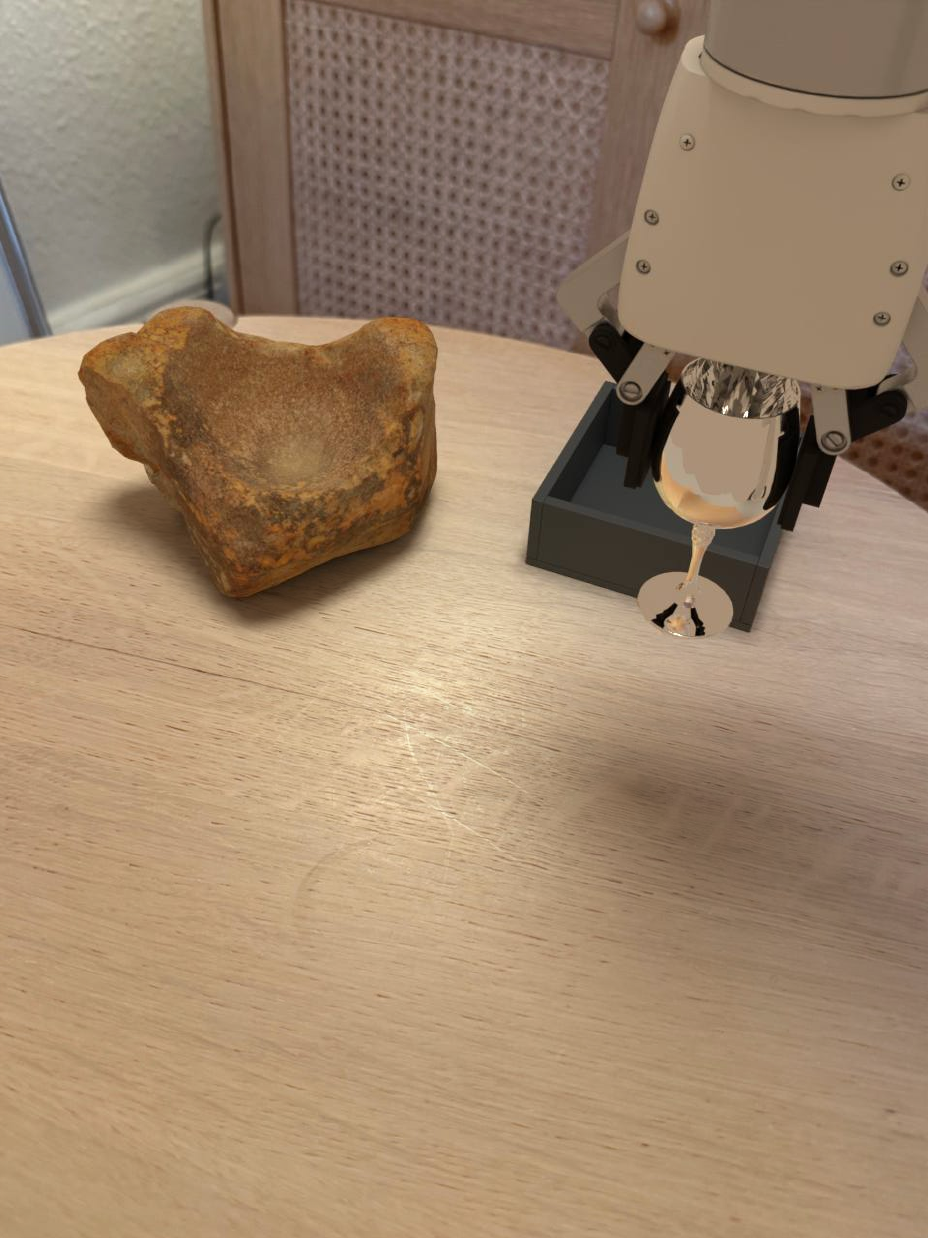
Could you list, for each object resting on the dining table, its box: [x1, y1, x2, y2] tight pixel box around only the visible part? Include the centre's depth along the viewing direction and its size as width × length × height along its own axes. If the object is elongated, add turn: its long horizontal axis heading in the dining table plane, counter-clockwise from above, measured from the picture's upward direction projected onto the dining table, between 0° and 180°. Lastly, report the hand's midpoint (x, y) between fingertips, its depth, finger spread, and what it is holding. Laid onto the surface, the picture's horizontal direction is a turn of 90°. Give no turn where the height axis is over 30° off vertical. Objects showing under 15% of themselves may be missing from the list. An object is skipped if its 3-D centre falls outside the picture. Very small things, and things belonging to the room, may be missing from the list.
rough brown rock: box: [77, 305, 439, 598], centre depth 70 cm, size 23×17×15 cm
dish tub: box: [525, 380, 805, 633], centre depth 75 cm, size 16×16×6 cm
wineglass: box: [636, 357, 802, 640], centre depth 46 cm, size 6×6×12 cm
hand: (714, 487), depth 46 cm, fingers closed on wineglass, 5 cm apart
